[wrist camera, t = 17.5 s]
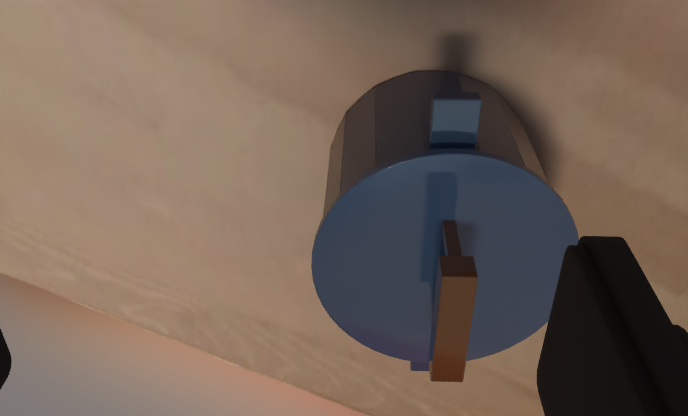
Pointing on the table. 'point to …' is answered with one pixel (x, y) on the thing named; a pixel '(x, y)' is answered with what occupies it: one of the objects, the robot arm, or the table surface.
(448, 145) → the crock
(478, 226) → the lid
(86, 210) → the table surface
